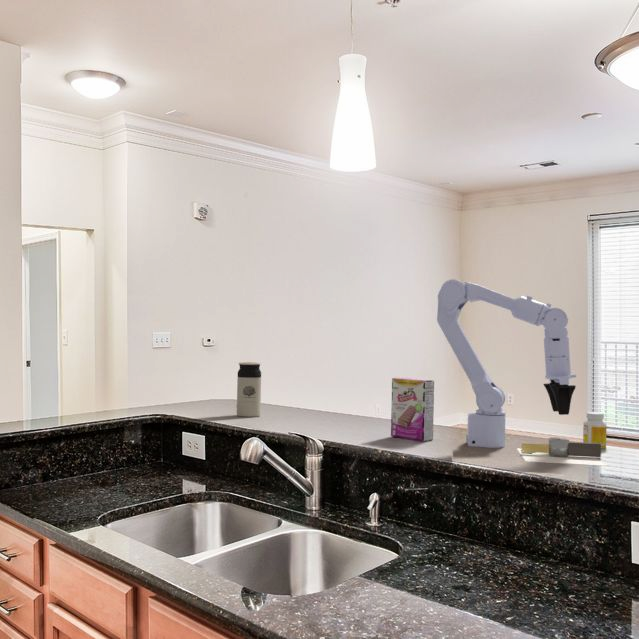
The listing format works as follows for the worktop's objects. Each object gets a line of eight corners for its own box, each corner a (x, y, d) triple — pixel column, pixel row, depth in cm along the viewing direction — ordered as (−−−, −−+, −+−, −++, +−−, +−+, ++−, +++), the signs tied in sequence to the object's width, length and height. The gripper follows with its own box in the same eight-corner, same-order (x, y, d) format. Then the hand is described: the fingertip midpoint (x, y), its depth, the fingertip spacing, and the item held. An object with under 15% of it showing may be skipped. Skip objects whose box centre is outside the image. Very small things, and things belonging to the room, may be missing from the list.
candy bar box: (389, 437, 179) (390, 377, 179) (400, 435, 183) (401, 377, 183) (423, 442, 171) (424, 380, 172) (434, 440, 175) (435, 379, 175)
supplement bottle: (579, 450, 163) (579, 412, 164) (589, 448, 167) (590, 411, 167) (599, 453, 159) (600, 414, 159) (610, 451, 163) (610, 413, 163)
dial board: (525, 465, 142) (525, 459, 142) (516, 452, 159) (516, 447, 159) (607, 470, 139) (607, 464, 139) (589, 456, 156) (589, 450, 156)
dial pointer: (523, 454, 149) (523, 438, 149) (520, 451, 153) (520, 435, 153) (602, 458, 145) (602, 442, 146) (597, 455, 150) (597, 439, 150)
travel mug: (240, 414, 223) (241, 361, 223) (262, 414, 222) (263, 362, 222) (233, 416, 215) (235, 362, 216) (257, 417, 214) (258, 363, 214)
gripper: (581, 356, 150) (584, 415, 149) (568, 355, 164) (571, 409, 164) (549, 358, 151) (553, 416, 150) (539, 357, 165) (542, 410, 165)
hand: (560, 412), depth 157 cm, fingers open, 7 cm apart
